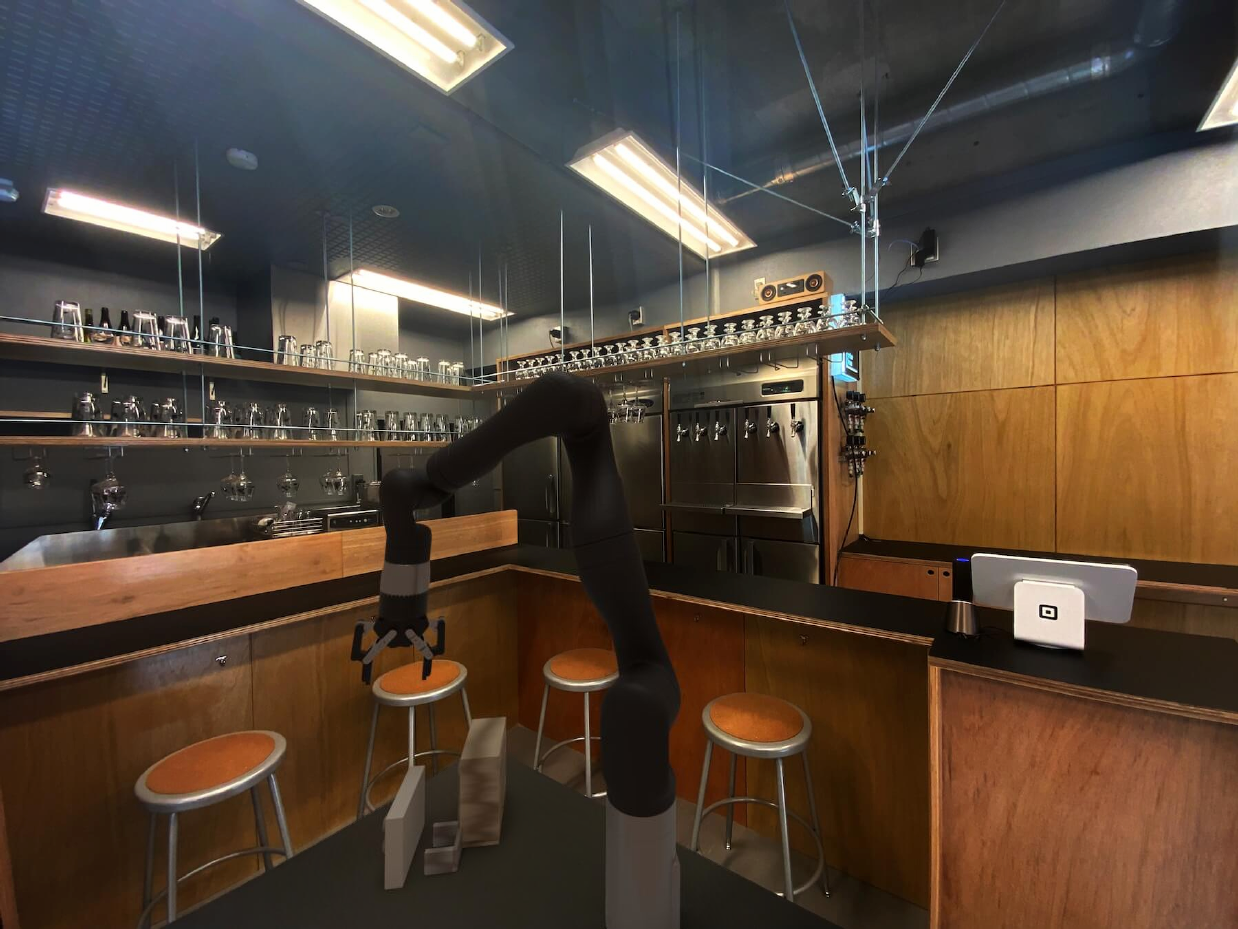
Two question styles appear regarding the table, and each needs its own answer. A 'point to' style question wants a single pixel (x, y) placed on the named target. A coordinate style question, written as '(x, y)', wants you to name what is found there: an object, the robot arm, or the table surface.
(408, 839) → the door
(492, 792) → the cabinet
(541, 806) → the table surface
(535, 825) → the table surface
